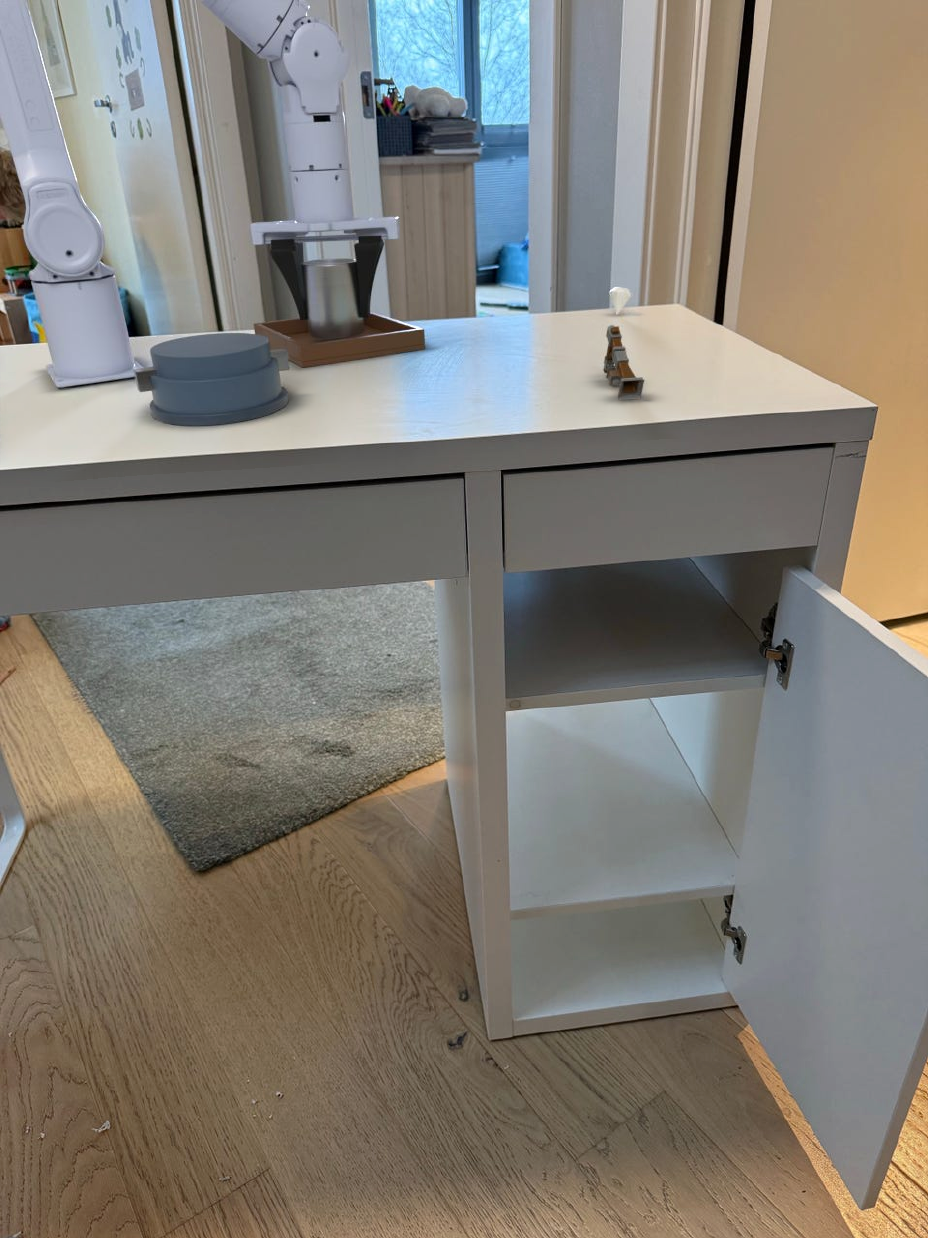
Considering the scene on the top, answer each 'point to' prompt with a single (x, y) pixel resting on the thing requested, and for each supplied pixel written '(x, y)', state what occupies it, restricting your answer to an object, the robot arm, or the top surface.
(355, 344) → the tray
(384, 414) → the top surface
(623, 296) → the gemstone
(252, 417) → the lidded cooking pot
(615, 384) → the brown grey angular piece
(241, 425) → the top surface
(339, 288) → the cup
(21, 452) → the top surface
